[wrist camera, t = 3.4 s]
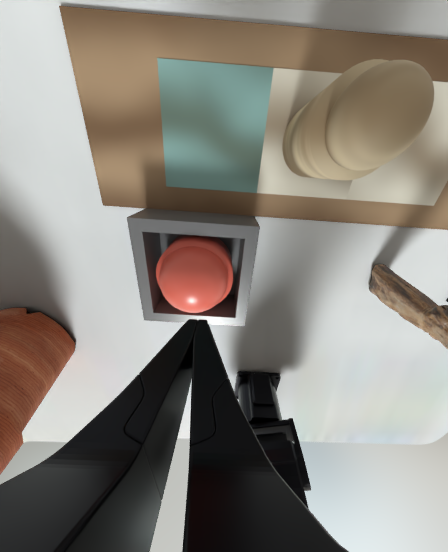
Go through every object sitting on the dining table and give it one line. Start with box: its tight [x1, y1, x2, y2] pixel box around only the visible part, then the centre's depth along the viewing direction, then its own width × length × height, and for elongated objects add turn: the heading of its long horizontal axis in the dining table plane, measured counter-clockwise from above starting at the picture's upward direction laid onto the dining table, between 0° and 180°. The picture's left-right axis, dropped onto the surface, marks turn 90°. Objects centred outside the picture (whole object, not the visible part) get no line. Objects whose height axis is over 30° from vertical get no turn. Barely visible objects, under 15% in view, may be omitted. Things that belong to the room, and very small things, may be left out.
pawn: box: [282, 59, 434, 180], centre depth 11 cm, size 5×5×9 cm
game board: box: [59, 6, 448, 230], centre depth 16 cm, size 12×38×1 cm, turn 86°
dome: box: [156, 234, 233, 313], centre depth 17 cm, size 7×7×6 cm
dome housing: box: [127, 208, 260, 326], centre depth 19 cm, size 10×10×4 cm
